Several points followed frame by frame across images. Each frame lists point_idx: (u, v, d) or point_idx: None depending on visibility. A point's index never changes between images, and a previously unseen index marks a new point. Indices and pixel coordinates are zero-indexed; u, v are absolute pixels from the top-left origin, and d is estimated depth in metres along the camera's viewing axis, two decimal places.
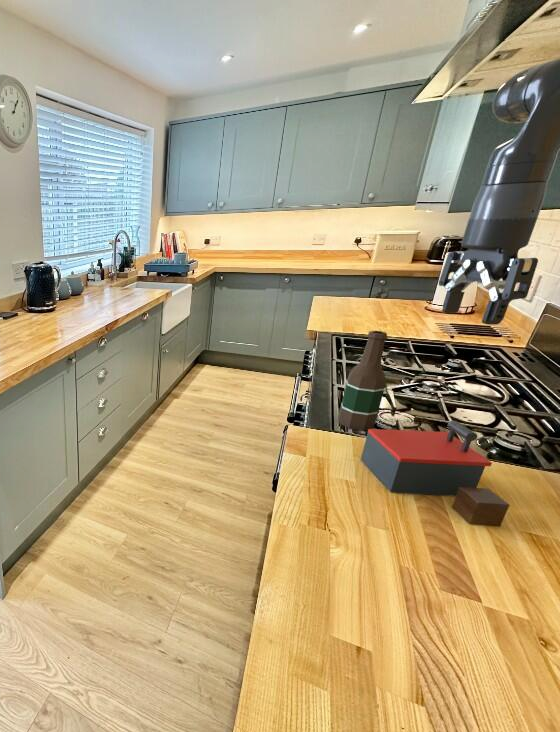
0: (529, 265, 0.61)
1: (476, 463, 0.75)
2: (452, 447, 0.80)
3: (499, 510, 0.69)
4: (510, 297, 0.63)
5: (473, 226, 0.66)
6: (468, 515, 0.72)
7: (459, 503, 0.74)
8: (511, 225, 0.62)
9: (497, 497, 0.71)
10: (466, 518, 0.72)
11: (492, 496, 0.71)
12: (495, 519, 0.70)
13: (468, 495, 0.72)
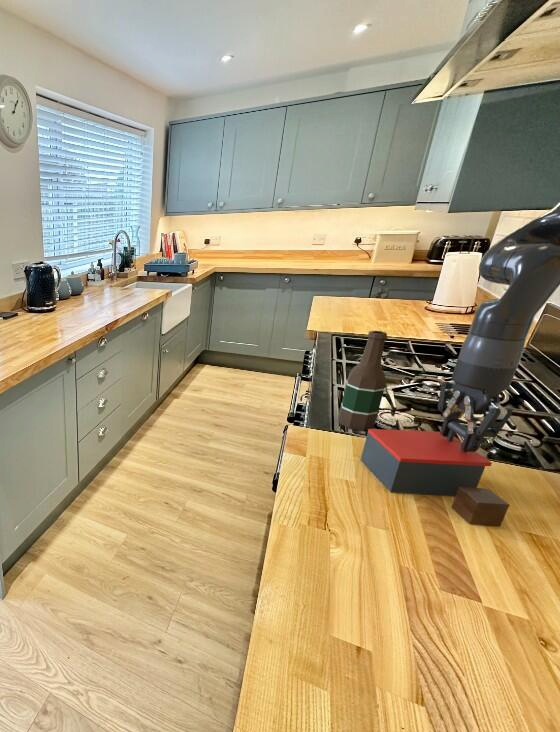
0: (503, 416, 0.70)
1: (476, 463, 0.75)
2: (452, 447, 0.80)
3: (499, 510, 0.69)
4: (482, 435, 0.73)
5: (460, 366, 0.75)
6: (468, 515, 0.72)
7: (459, 503, 0.74)
8: (492, 373, 0.71)
9: (497, 497, 0.71)
10: (466, 518, 0.72)
11: (492, 496, 0.71)
12: (495, 519, 0.70)
13: (468, 495, 0.72)
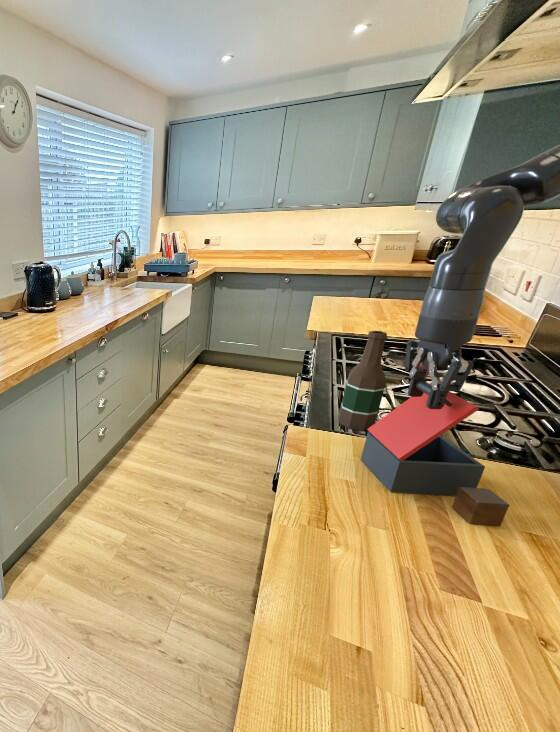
0: (465, 368, 0.69)
1: (464, 416, 0.72)
2: None
3: (499, 510, 0.69)
4: (445, 390, 0.72)
5: (422, 321, 0.73)
6: (468, 515, 0.72)
7: (459, 503, 0.74)
8: (453, 325, 0.70)
9: (497, 497, 0.71)
10: (466, 518, 0.72)
11: (492, 496, 0.71)
12: (495, 519, 0.70)
13: (468, 495, 0.72)
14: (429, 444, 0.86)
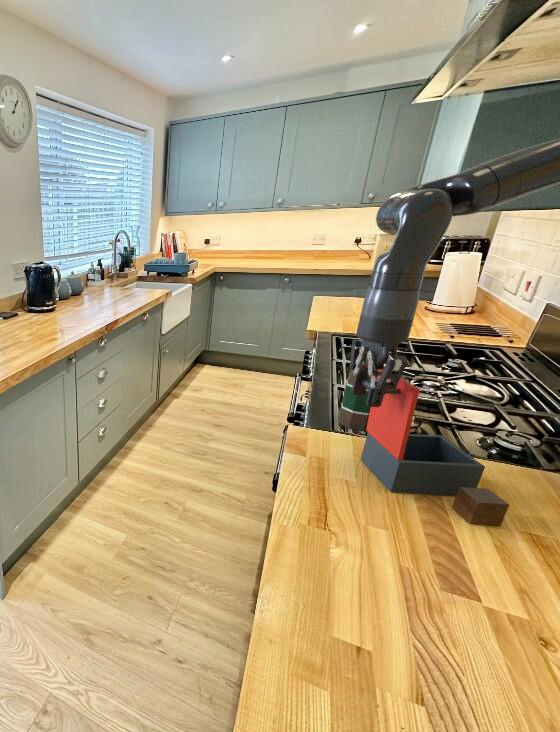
0: (399, 367, 0.71)
1: (413, 401, 0.73)
2: None
3: (499, 510, 0.69)
4: (381, 388, 0.73)
5: (362, 321, 0.75)
6: (468, 515, 0.72)
7: (459, 503, 0.74)
8: (389, 325, 0.71)
9: (497, 497, 0.71)
10: (466, 518, 0.72)
11: (492, 496, 0.71)
12: (495, 519, 0.70)
13: (468, 495, 0.72)
14: (429, 444, 0.86)
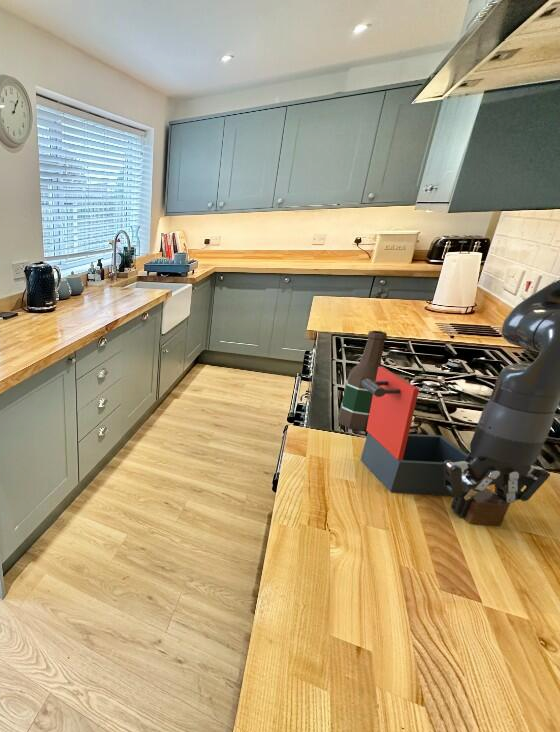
0: (448, 470, 0.70)
1: (413, 401, 0.73)
2: None
3: (499, 510, 0.69)
4: (445, 487, 0.73)
5: None
6: (468, 515, 0.72)
7: None
8: (478, 432, 0.69)
9: (497, 497, 0.71)
10: (466, 518, 0.72)
11: (492, 496, 0.71)
12: (495, 519, 0.70)
13: None
14: (429, 444, 0.86)
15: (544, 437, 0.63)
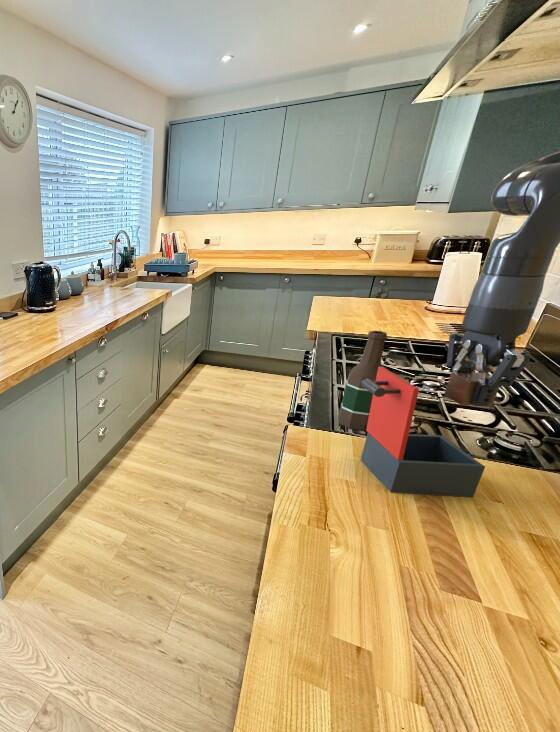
0: (520, 363, 0.64)
1: (413, 401, 0.73)
2: None
3: None
4: (495, 385, 0.67)
5: (472, 311, 0.68)
6: None
7: None
8: (508, 315, 0.64)
9: (470, 373, 0.73)
10: None
11: (472, 374, 0.72)
12: None
13: None
14: (429, 444, 0.86)
15: None
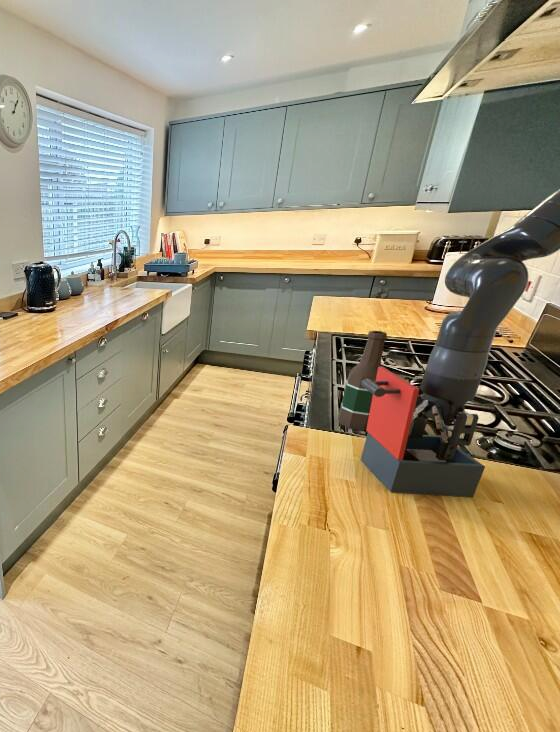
0: (471, 420, 0.71)
1: (413, 401, 0.73)
2: None
3: None
4: (456, 444, 0.73)
5: (428, 377, 0.76)
6: None
7: None
8: (457, 383, 0.73)
9: (422, 450, 0.83)
10: None
11: (423, 452, 0.83)
12: None
13: None
14: (429, 444, 0.86)
15: None
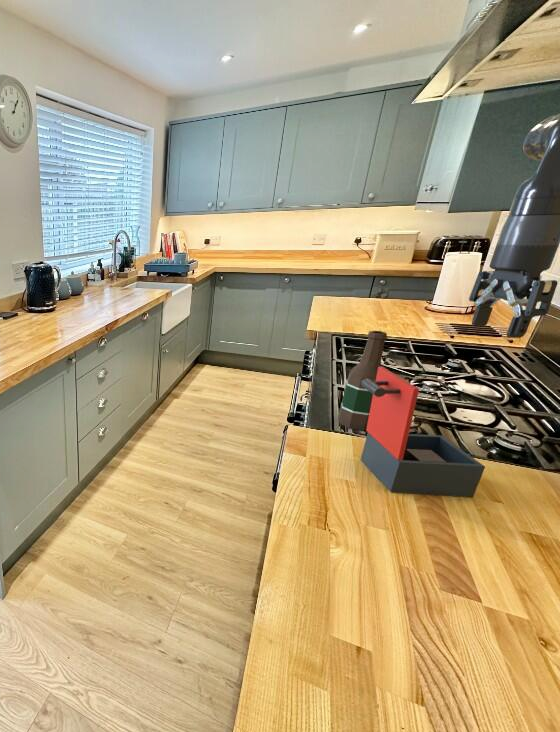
0: (549, 286, 0.70)
1: (413, 401, 0.73)
2: None
3: None
4: (531, 314, 0.71)
5: (500, 250, 0.74)
6: None
7: None
8: (534, 251, 0.71)
9: (422, 450, 0.83)
10: None
11: (423, 452, 0.83)
12: None
13: None
14: (429, 444, 0.86)
15: None
